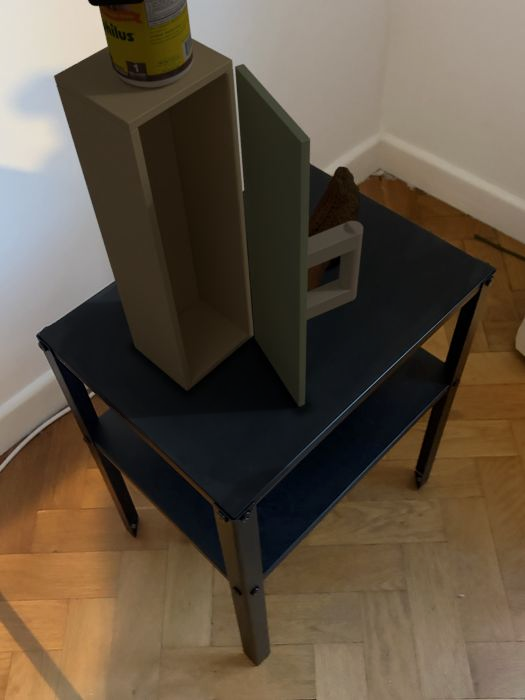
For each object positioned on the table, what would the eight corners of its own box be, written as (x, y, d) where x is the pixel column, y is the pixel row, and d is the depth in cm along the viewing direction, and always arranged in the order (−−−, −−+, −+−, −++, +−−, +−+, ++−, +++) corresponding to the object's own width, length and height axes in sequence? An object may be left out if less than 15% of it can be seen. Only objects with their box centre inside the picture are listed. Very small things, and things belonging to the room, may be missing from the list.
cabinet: (253, 335, 75) (232, 59, 50) (187, 391, 72) (127, 123, 46) (201, 295, 79) (156, 18, 54) (134, 347, 75) (53, 75, 50)
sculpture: (380, 178, 72) (256, 248, 68) (392, 264, 79) (280, 332, 74) (331, 157, 78) (214, 220, 74) (346, 238, 85) (240, 300, 80)
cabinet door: (309, 315, 77) (317, 39, 51) (356, 380, 72) (390, 109, 46) (254, 338, 75) (234, 66, 50) (298, 407, 70) (300, 142, 45)
